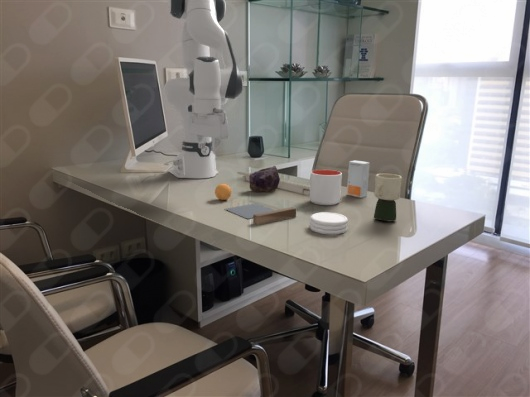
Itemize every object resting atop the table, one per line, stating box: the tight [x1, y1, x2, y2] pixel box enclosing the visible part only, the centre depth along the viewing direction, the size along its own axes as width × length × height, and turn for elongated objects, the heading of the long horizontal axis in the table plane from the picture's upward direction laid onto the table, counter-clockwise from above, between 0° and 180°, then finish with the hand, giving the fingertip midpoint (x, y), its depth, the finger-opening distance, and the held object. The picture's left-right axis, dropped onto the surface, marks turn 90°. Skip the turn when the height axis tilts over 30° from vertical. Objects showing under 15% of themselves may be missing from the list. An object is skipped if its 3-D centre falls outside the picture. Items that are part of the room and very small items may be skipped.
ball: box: [214, 183, 232, 201], centre depth 144 cm, size 5×5×5 cm
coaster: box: [309, 211, 349, 235], centre depth 118 cm, size 10×10×4 cm
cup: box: [309, 169, 343, 206], centre depth 144 cm, size 10×10×10 cm
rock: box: [248, 165, 281, 193], centre depth 158 cm, size 12×9×10 cm
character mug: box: [373, 173, 403, 222], centre depth 125 cm, size 11×7×13 cm, turn 132°
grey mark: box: [225, 202, 275, 220], centre depth 133 cm, size 12×12×1 cm
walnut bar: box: [252, 206, 297, 226], centre depth 124 cm, size 2×14×2 cm, turn 128°
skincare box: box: [346, 160, 371, 199], centre depth 153 cm, size 6×4×12 cm
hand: (208, 149), depth 148 cm, fingers open, 7 cm apart
